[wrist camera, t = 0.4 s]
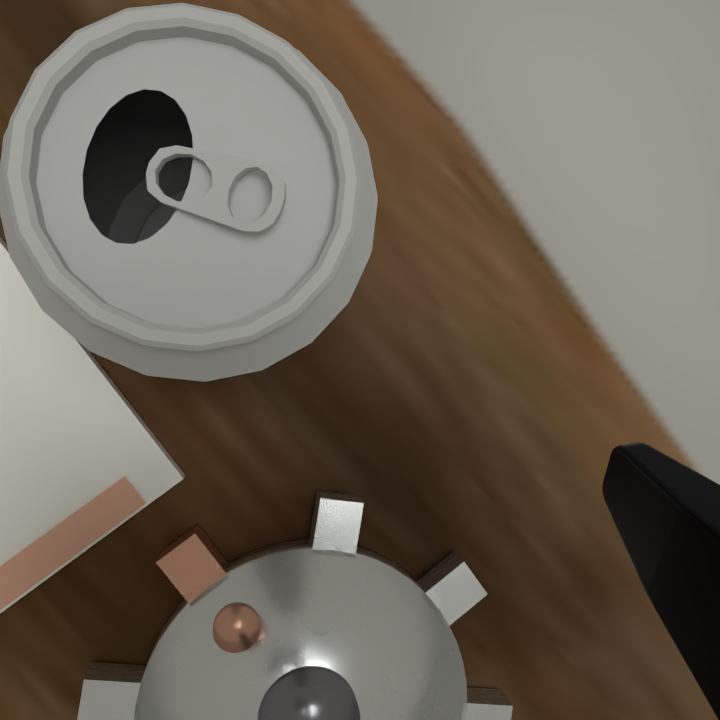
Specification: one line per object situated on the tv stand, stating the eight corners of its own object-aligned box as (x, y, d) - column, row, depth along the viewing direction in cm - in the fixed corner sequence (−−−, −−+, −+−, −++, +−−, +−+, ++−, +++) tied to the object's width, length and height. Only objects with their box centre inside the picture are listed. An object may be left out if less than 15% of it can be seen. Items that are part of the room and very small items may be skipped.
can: (144, 132, 22) (27, -113, 10) (344, 198, 24) (442, 48, 12) (85, 335, 22) (-103, 319, 10) (290, 390, 23) (335, 433, 11)
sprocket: (570, 713, 26) (594, 740, 24) (259, 988, 23) (259, 1041, 22) (351, 409, 24) (359, 413, 22) (-9, 678, 22) (-32, 707, 20)
